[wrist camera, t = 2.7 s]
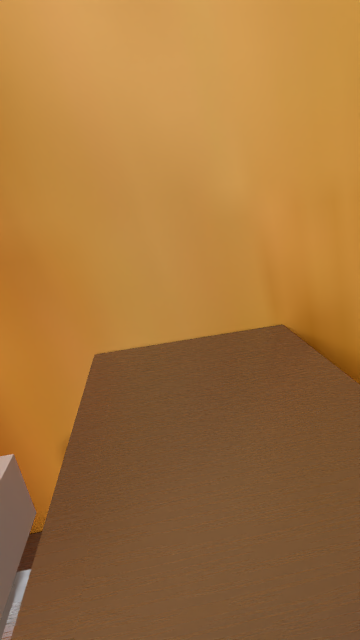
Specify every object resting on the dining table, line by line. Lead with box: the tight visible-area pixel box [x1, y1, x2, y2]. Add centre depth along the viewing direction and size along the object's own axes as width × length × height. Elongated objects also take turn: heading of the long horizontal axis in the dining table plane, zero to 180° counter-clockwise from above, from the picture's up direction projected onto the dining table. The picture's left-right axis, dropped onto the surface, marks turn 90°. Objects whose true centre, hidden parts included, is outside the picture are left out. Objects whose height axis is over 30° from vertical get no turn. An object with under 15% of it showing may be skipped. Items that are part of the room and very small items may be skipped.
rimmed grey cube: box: [10, 325, 360, 640], centre depth 8 cm, size 7×7×9 cm
